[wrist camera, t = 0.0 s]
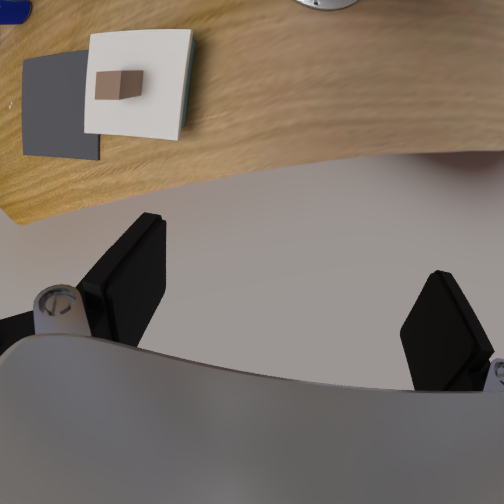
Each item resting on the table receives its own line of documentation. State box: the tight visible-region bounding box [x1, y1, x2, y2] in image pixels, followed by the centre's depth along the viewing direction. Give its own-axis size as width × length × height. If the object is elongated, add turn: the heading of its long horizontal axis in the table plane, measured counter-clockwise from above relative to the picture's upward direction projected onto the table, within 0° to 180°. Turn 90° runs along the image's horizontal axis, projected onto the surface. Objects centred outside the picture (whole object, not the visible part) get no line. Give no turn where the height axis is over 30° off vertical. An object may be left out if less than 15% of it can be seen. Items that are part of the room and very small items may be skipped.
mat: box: [22, 50, 100, 161], centre depth 43 cm, size 19×19×1 cm
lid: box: [84, 29, 194, 141], centre depth 33 cm, size 15×15×7 cm
